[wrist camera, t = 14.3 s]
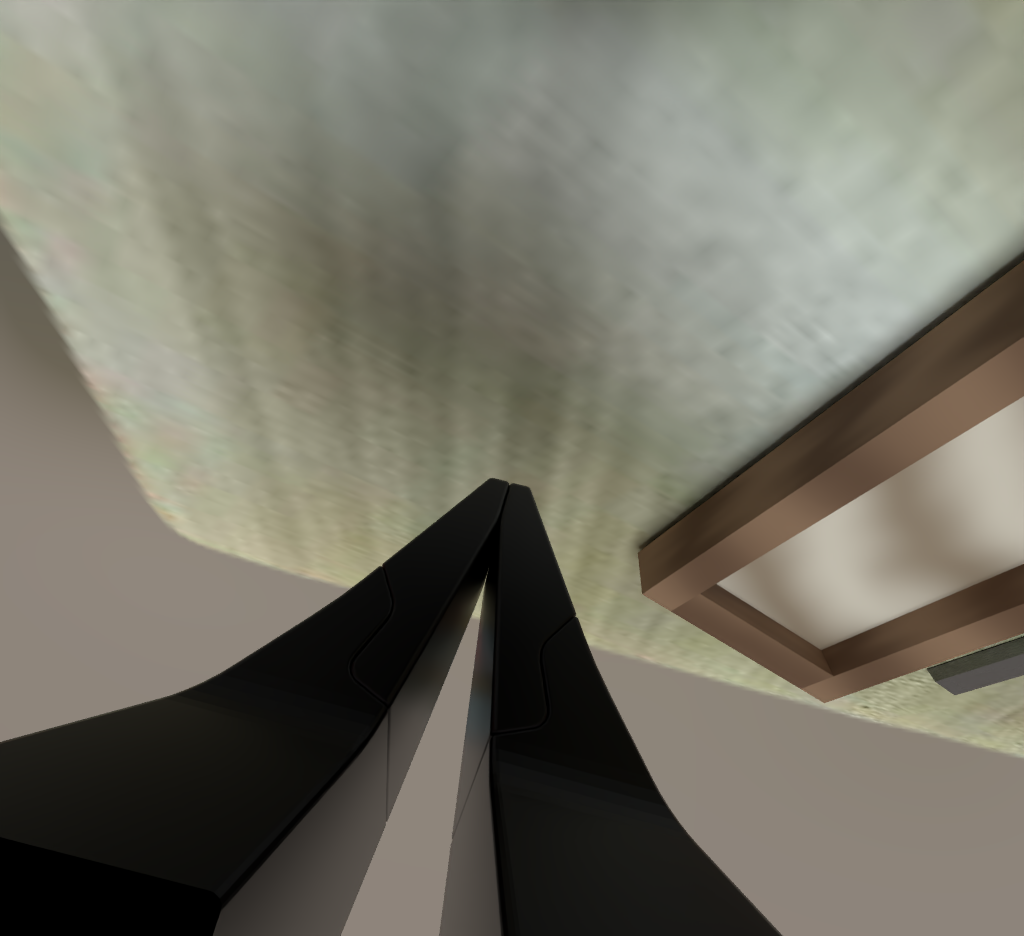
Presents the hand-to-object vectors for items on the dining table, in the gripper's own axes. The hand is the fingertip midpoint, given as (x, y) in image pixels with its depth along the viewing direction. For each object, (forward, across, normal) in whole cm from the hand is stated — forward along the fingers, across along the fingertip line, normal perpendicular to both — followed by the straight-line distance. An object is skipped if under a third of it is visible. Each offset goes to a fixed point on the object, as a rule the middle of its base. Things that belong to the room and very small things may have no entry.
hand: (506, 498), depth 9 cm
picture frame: (+12, -20, +4) cm, 23 cm away
